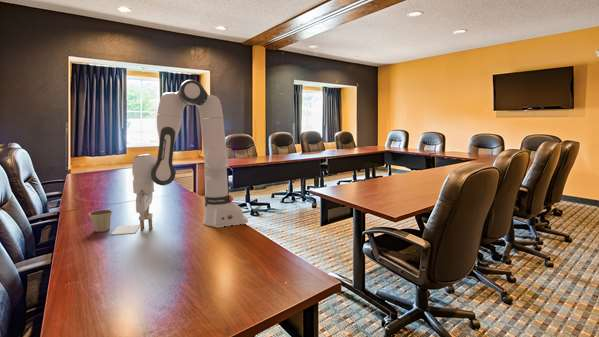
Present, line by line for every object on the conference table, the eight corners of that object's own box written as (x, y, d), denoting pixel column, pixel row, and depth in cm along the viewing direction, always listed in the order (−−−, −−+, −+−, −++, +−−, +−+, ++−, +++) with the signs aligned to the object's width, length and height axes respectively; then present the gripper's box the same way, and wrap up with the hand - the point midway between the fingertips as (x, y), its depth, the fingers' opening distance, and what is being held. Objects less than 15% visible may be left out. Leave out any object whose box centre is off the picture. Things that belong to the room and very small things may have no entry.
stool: (153, 227, 160) (152, 213, 159) (151, 230, 155) (150, 216, 154) (141, 228, 158) (141, 214, 157) (139, 231, 153) (138, 216, 152)
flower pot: (103, 234, 150) (101, 215, 148) (85, 232, 151) (83, 214, 150) (118, 227, 159) (116, 210, 157) (101, 226, 160) (100, 209, 159)
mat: (140, 225, 162) (140, 224, 162) (135, 233, 151) (135, 232, 151) (117, 227, 159) (117, 226, 159) (110, 235, 148) (110, 234, 148)
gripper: (147, 192, 145) (148, 223, 146) (154, 184, 164) (155, 211, 166) (131, 193, 143) (132, 223, 145) (140, 184, 162) (141, 211, 164)
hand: (144, 217), depth 156 cm, fingers open, 8 cm apart
